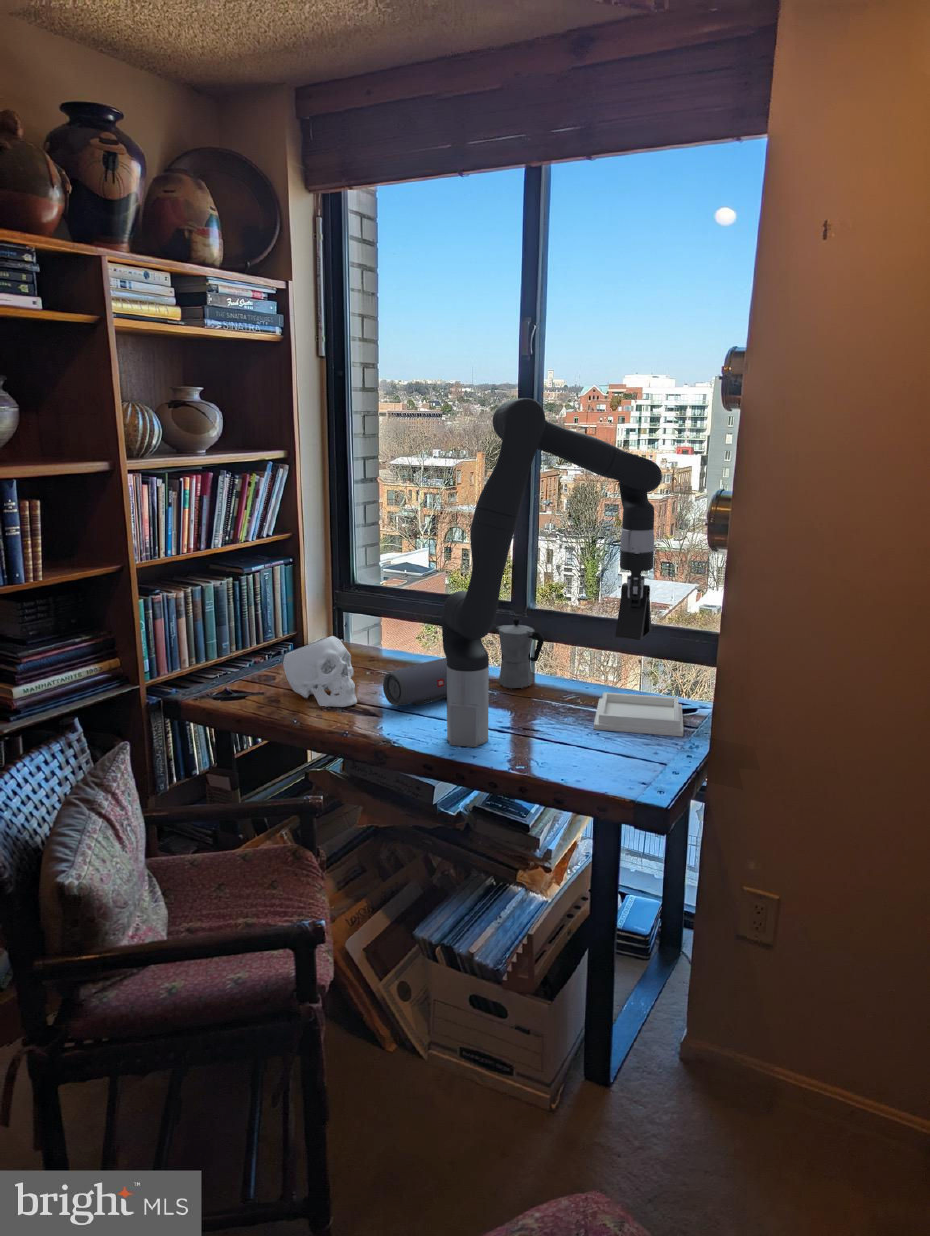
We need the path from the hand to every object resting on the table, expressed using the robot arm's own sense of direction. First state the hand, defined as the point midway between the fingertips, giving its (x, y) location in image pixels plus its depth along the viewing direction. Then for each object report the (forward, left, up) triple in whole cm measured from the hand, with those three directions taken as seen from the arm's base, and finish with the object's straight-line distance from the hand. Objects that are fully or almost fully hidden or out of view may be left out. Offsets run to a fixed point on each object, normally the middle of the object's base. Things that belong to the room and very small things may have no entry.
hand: (634, 621), depth 196 cm
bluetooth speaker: (+1, +50, -24) cm, 55 cm away
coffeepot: (+18, +30, -24) cm, 42 cm away
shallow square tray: (-1, -2, -23) cm, 24 cm away
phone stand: (0, 0, -3) cm, 3 cm away
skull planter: (-4, +77, -24) cm, 80 cm away
